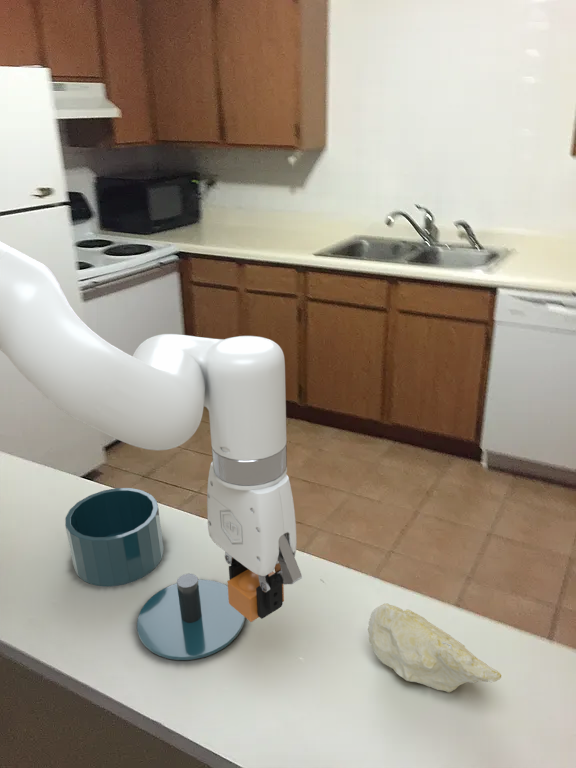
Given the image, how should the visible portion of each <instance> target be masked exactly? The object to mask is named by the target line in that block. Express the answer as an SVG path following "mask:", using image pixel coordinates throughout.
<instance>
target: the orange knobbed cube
mask: <svg viewBox="0 0 576 768" xmlns="http://www.w3.org/2000/svg"><path fill="white" fill-rule="evenodd" d="M274 573H275V571H273V572H271V573H269V574H268V575H269V576H271V575H273V574H274ZM227 586H228V597H229V604H230V605H231V606H233V607H234V608H235V609H236V610H237V611H238V612H240V613H241V614H242V615H243V616H244V617H245V619H247V620H248V621H249V622H250V623H253V622H255V620H257V619H260V617H259V616H258V614H257V596H256V588H257V587H258V586H260V583H259V578H258V575H257V574H255V573H254V572H252V571H250V570H249V569H248V570H246V571H244V572H243V573H241V574H239V575H237V576H236V577H234V578H232V579H229V580H227ZM284 587H285V586H284V584H282V593H283V603H284V602H285V592H284V591H285V590H284Z"/></svg>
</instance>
